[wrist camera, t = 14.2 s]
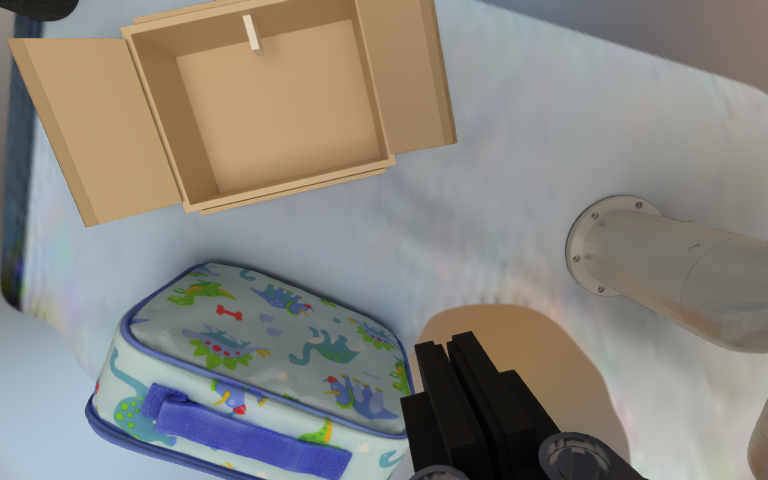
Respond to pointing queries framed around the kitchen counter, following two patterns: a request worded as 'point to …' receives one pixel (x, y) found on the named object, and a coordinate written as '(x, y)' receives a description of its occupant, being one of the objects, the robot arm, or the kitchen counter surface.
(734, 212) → the kitchen counter surface
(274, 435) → the lunch box
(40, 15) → the travel mug
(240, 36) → the carton
